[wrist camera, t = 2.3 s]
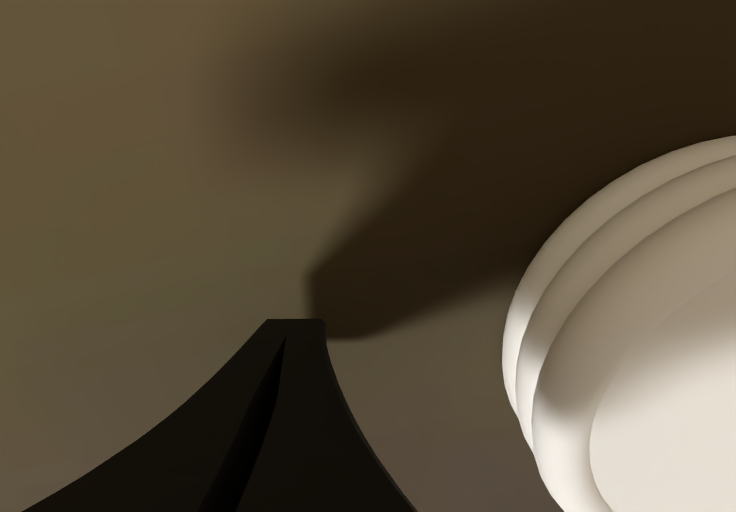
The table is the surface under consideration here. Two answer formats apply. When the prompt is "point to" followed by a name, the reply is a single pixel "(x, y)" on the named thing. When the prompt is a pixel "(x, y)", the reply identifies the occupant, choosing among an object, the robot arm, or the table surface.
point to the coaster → (634, 341)
